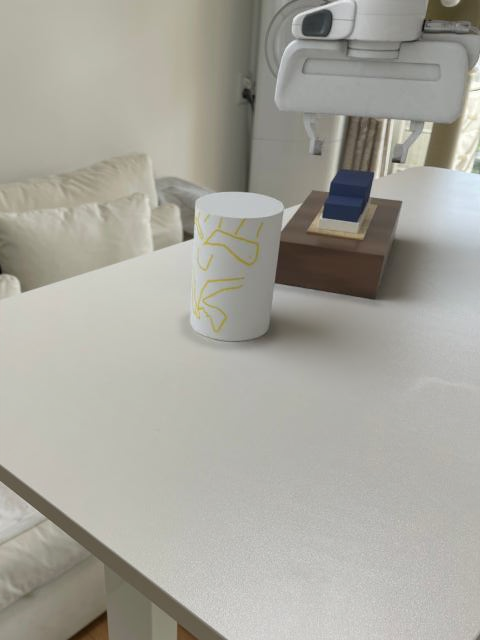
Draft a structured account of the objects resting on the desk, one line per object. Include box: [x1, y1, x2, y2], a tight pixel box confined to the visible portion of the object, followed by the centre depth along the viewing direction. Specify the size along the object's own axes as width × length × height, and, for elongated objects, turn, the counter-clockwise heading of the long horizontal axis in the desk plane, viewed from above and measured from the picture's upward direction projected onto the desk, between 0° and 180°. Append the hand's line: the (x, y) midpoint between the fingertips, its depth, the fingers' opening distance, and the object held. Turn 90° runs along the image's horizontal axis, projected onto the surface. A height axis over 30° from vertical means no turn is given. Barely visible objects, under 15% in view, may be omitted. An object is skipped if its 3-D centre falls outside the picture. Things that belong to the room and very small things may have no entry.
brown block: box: [274, 189, 403, 300], centre depth 81 cm, size 22×12×5 cm, turn 158°
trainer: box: [318, 168, 375, 234], centre depth 78 cm, size 11×5×4 cm, turn 158°
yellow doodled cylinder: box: [189, 191, 285, 342], centre depth 63 cm, size 8×8×12 cm
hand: (356, 158), depth 76 cm, fingers open, 8 cm apart
